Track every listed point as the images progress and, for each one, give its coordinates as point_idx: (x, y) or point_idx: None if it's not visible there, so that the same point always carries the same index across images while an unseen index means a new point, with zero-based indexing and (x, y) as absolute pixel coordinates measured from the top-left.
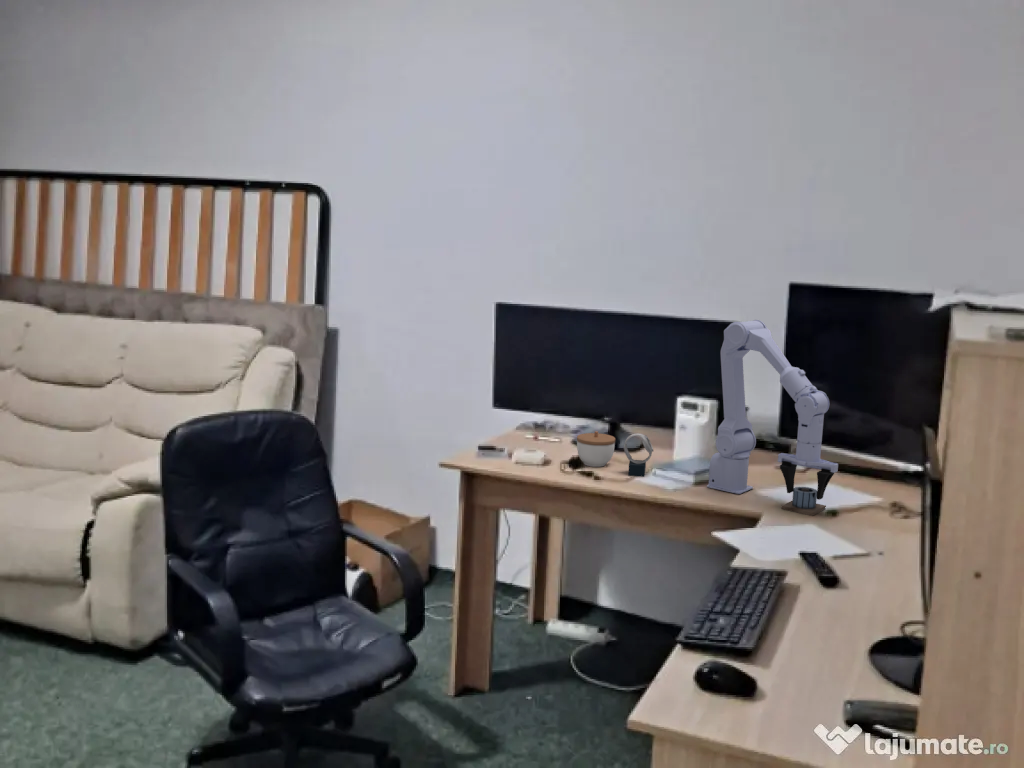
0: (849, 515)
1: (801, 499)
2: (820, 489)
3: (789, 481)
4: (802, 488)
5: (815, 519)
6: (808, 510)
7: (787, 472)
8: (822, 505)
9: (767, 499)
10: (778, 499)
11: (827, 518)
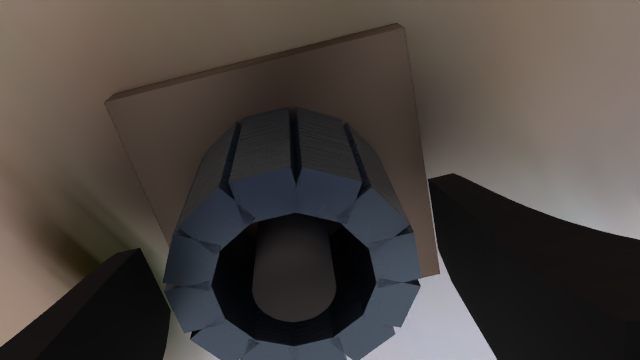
0: (21, 327)
1: (245, 144)
2: (40, 318)
3: (484, 241)
4: (328, 283)
5: (20, 30)
6: (173, 122)
7: (580, 281)
8: None
9: (612, 143)
10: (549, 212)
11: (10, 146)
